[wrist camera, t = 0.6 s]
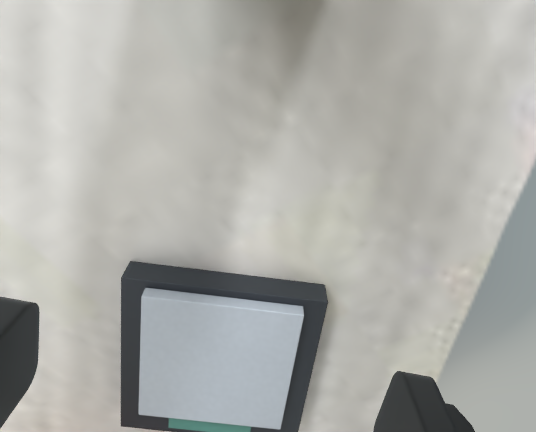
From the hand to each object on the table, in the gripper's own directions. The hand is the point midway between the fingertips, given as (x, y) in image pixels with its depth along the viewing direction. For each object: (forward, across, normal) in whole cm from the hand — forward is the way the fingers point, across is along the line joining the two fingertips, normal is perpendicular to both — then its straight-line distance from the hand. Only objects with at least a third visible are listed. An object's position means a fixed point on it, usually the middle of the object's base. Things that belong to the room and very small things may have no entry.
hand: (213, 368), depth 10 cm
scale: (+19, 0, +14) cm, 24 cm away
